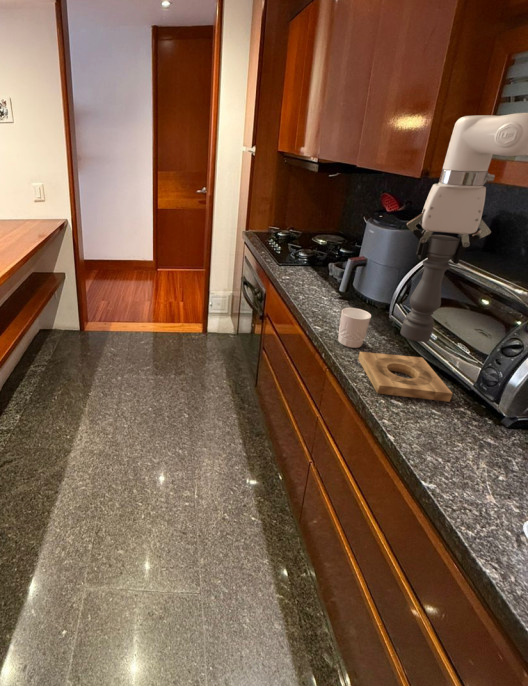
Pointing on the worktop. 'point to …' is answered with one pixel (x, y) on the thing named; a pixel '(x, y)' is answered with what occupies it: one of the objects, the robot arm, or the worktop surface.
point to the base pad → (388, 383)
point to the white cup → (353, 327)
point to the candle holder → (429, 288)
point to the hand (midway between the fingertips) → (437, 259)
